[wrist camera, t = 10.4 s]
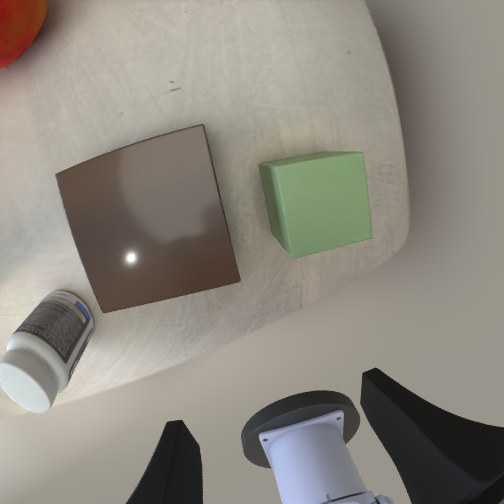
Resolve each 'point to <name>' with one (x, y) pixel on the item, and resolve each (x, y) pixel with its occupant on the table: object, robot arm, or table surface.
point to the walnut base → (149, 220)
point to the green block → (317, 201)
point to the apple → (19, 27)
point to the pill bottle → (46, 351)
